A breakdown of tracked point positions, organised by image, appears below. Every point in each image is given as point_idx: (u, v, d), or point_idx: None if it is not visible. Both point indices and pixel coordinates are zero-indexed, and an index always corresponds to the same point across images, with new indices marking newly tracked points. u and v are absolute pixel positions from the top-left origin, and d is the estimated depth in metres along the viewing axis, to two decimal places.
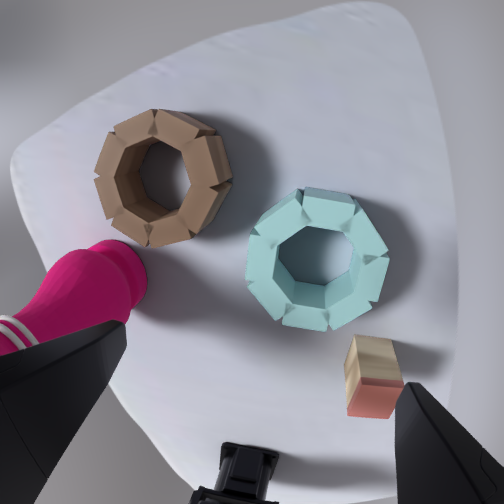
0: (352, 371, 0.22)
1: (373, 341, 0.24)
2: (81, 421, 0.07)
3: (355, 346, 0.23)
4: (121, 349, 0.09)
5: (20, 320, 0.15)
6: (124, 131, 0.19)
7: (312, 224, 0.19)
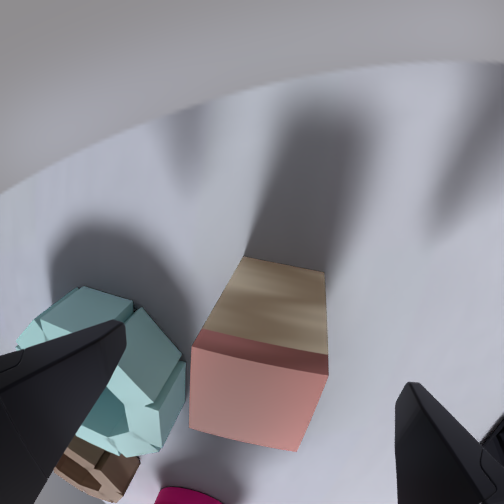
0: None
1: None
2: (81, 421, 0.07)
3: None
4: (121, 349, 0.09)
5: None
6: None
7: None
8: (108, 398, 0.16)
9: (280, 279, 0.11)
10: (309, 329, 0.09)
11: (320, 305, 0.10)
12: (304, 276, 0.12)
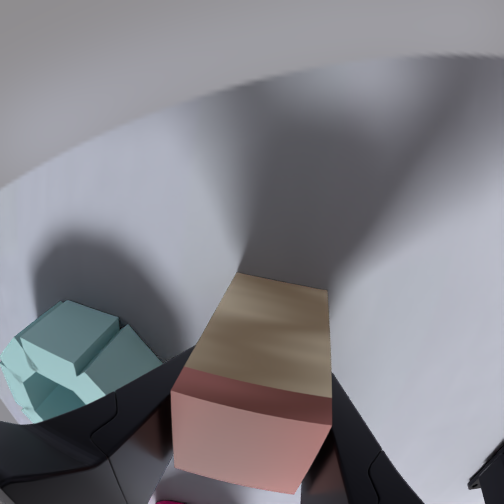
0: None
1: None
2: (171, 457, 0.07)
3: None
4: None
5: None
6: None
7: (31, 406, 0.12)
8: None
9: (278, 300, 0.10)
10: (310, 365, 0.07)
11: (323, 333, 0.09)
12: (305, 295, 0.10)
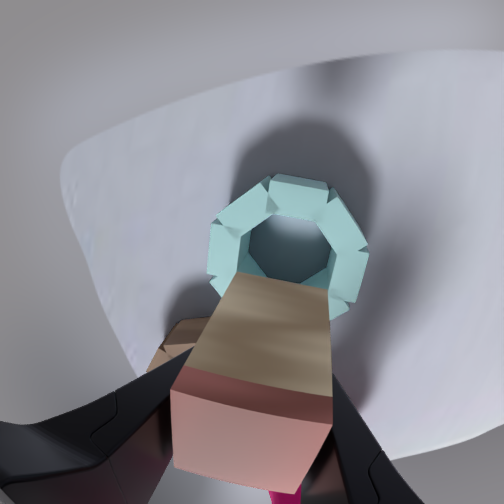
0: None
1: None
2: (170, 457, 0.07)
3: None
4: None
5: None
6: None
7: (234, 267, 0.18)
8: None
9: (278, 299, 0.10)
10: (311, 365, 0.07)
11: (323, 332, 0.08)
12: (305, 294, 0.10)
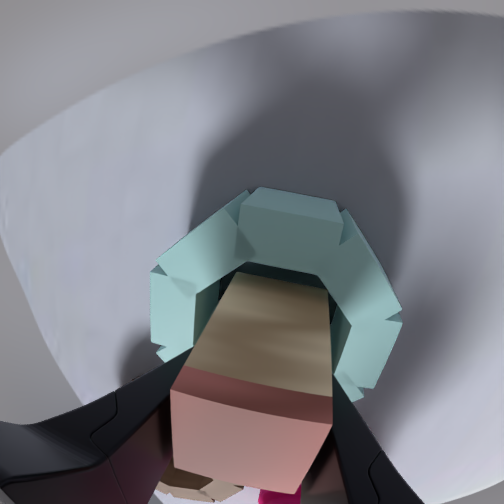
0: None
1: None
2: (170, 457, 0.07)
3: None
4: None
5: None
6: None
7: (189, 337, 0.11)
8: None
9: (278, 299, 0.10)
10: (311, 364, 0.07)
11: (323, 332, 0.09)
12: (305, 294, 0.10)
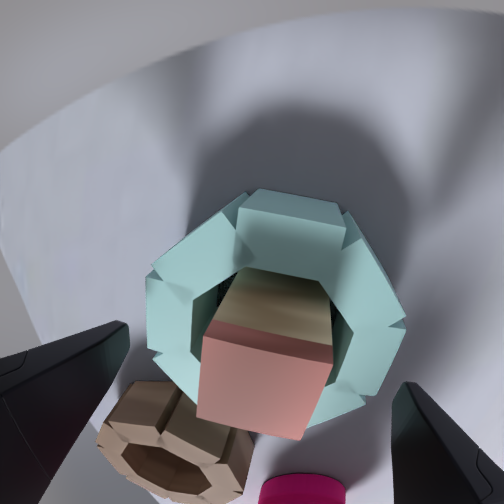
0: None
1: None
2: (85, 422, 0.07)
3: None
4: (124, 350, 0.09)
5: None
6: (122, 469, 0.16)
7: (187, 344, 0.11)
8: None
9: (285, 274, 0.12)
10: (314, 322, 0.09)
11: (324, 299, 0.10)
12: None
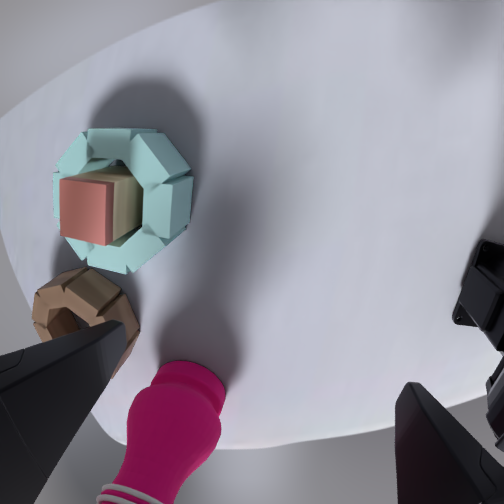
0: None
1: None
2: (82, 421, 0.07)
3: None
4: (121, 349, 0.09)
5: None
6: None
7: None
8: None
9: (125, 170, 0.19)
10: (116, 178, 0.16)
11: None
12: None
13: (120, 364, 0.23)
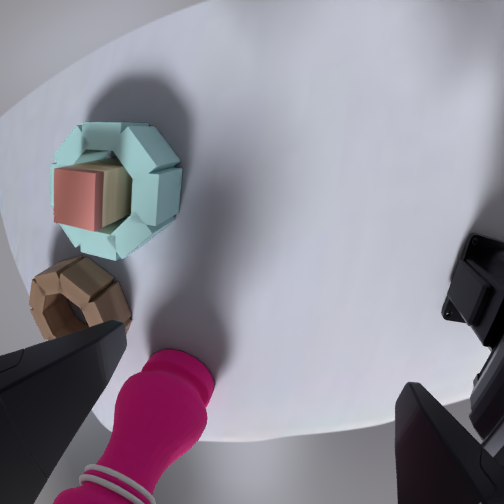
0: None
1: None
2: (82, 421, 0.07)
3: None
4: (121, 349, 0.09)
5: None
6: (44, 332, 0.24)
7: None
8: None
9: (117, 161, 0.20)
10: (107, 168, 0.17)
11: None
12: None
13: None
